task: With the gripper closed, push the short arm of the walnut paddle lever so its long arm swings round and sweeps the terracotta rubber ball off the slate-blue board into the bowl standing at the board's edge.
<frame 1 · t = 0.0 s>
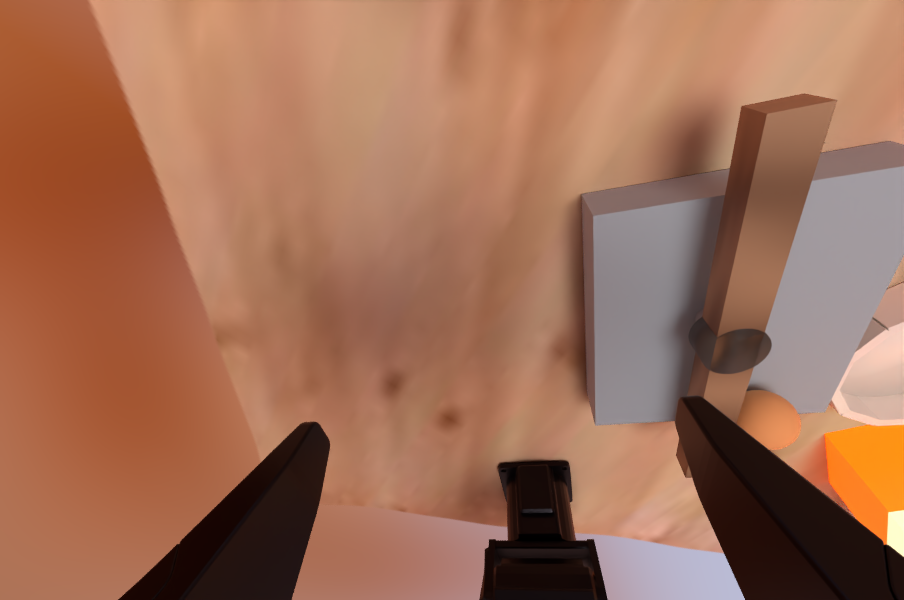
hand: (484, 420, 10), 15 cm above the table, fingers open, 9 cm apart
orange juice: (891, 444, 30), on the table
board: (701, 297, 24), on the table
ball: (762, 419, 23), point 5 cm above the table, touching board
lever: (727, 341, 19), point 5 cm above the table, hinge at 0.0°
bowl: (900, 343, 24), on the table
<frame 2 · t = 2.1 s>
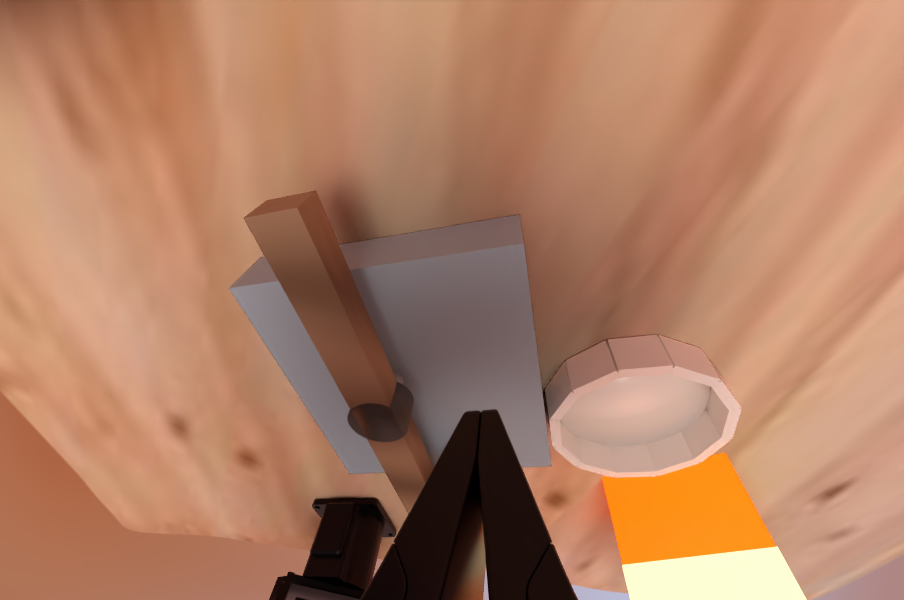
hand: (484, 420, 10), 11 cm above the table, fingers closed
orange juice: (671, 488, 30), on the table
board: (421, 352, 24), on the table
lever: (381, 410, 19), point 5 cm above the table, hinge at 0.0°
bowl: (628, 397, 24), on the table
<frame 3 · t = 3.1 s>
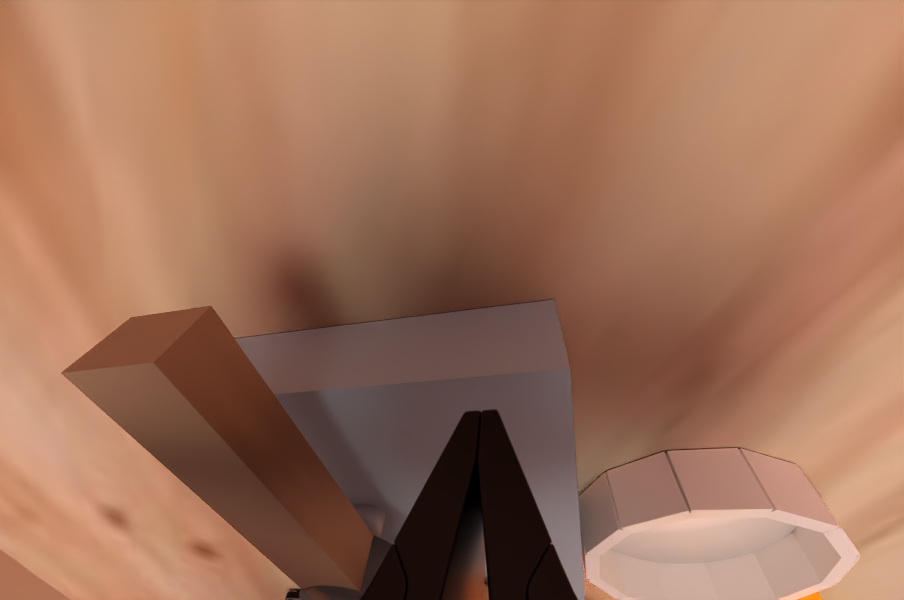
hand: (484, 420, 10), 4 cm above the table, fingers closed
orange juice: (726, 597, 24), on the table
board: (412, 456, 18), on the table
lever: (351, 575, 13), point 5 cm above the table, hinge at 0.0°
bowl: (686, 511, 18), on the table
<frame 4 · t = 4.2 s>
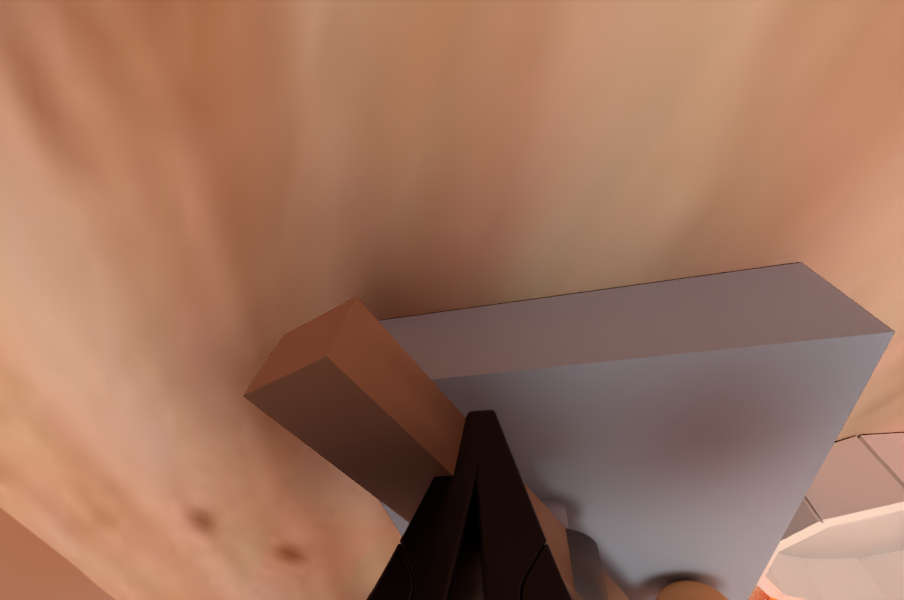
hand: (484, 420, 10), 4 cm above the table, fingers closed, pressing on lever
orange juice: (854, 594, 23), on the table
board: (562, 447, 16), on the table
lever: (553, 577, 12), point 5 cm above the table, hinge at 19.4°, touching gripper
bowl: (852, 502, 17), on the table
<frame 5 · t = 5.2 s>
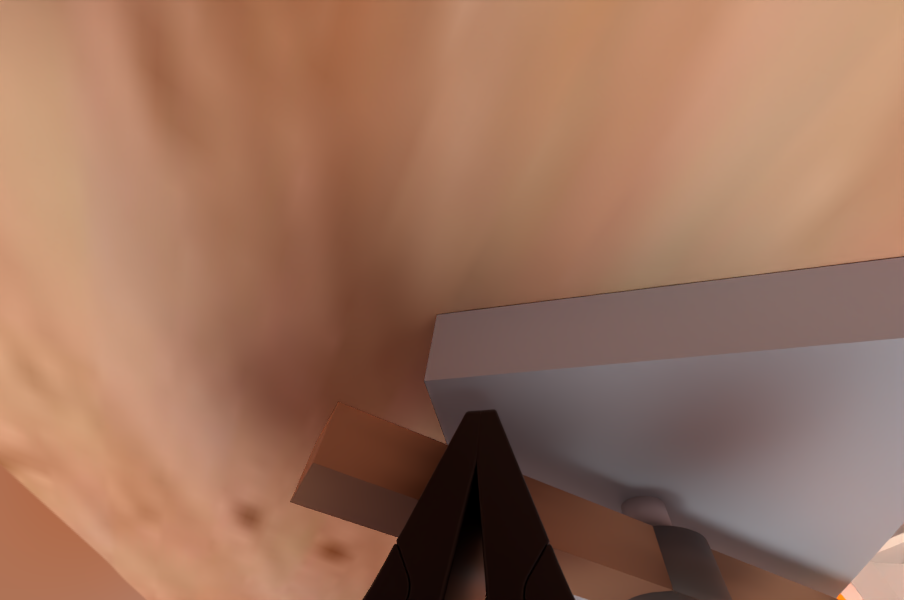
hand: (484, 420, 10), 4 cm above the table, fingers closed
board: (643, 445, 16), on the table
lever: (665, 577, 11), point 5 cm above the table, hinge at 49.6°, touching gripper
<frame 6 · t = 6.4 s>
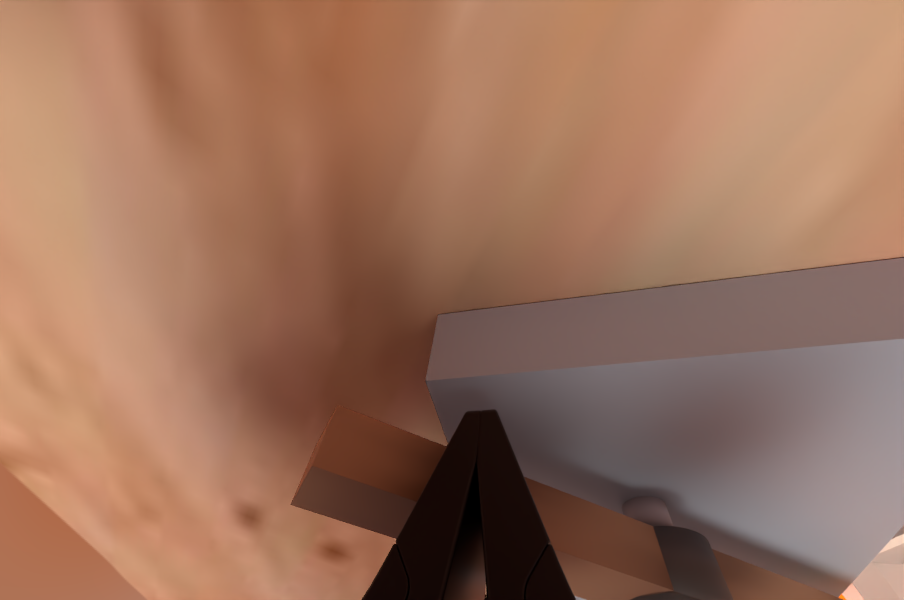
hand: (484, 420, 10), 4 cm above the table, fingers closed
board: (644, 445, 16), on the table
lever: (666, 578, 11), point 5 cm above the table, hinge at 50.4°, touching gripper
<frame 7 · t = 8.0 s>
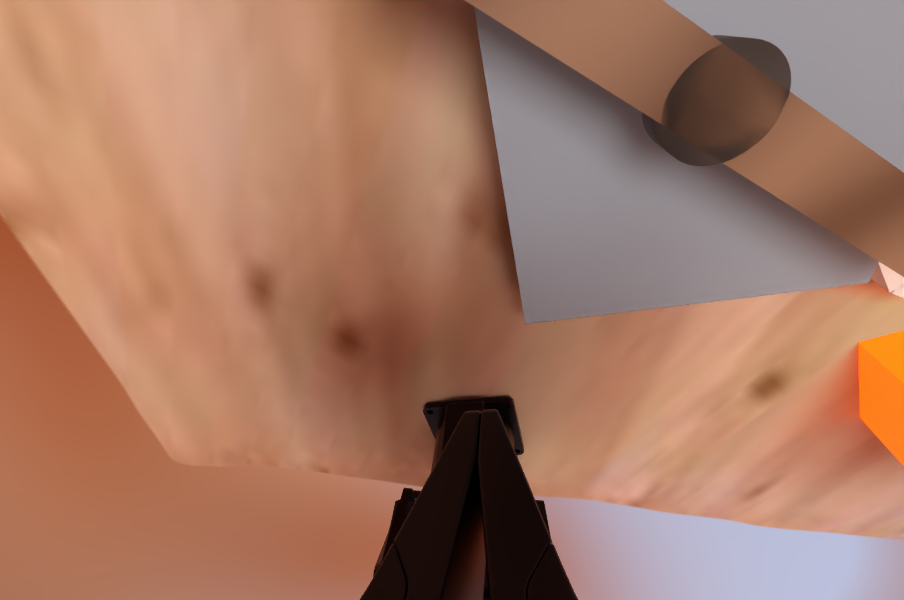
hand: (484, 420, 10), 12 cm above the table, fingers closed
board: (675, 99, 15), on the table
lever: (708, 102, 11), point 5 cm above the table, hinge at 50.4°
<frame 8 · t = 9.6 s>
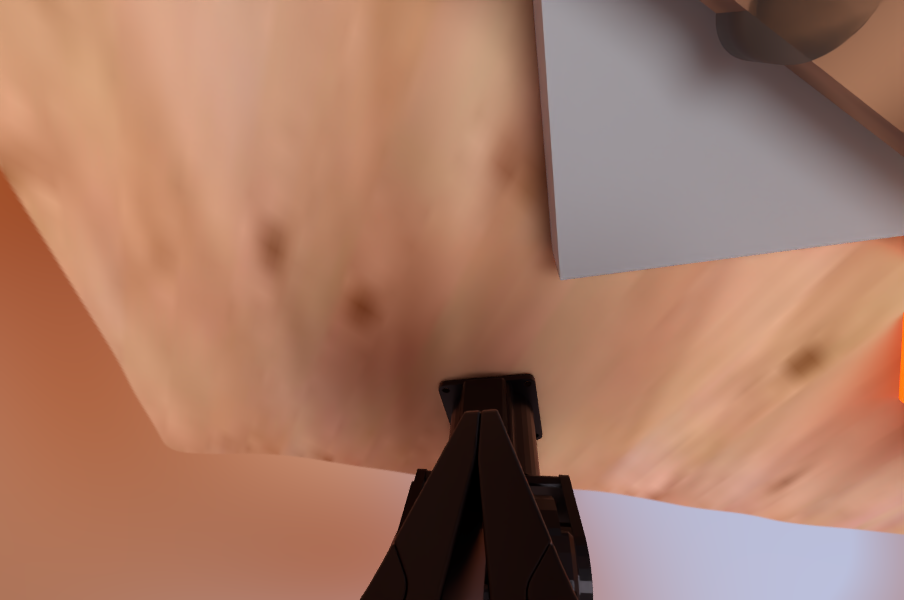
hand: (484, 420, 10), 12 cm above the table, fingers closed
board: (731, 30, 14), on the table
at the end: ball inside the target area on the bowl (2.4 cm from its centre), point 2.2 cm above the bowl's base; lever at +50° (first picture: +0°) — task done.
